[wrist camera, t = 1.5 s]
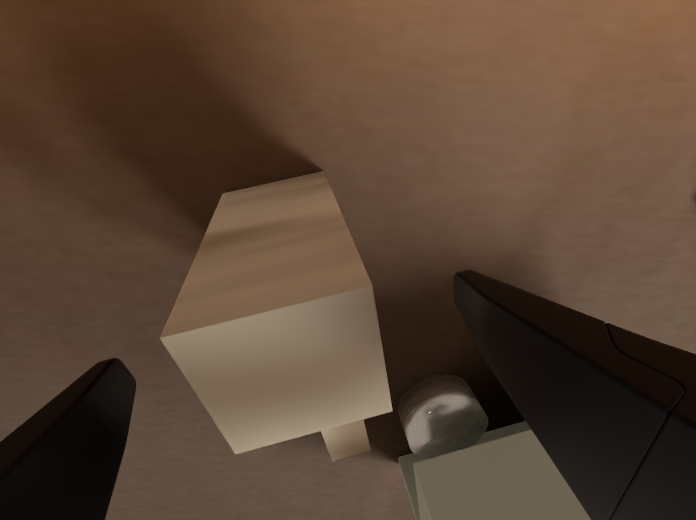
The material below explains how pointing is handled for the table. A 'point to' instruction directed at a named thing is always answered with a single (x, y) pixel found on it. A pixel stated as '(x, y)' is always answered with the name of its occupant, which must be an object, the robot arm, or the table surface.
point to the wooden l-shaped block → (281, 321)
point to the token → (441, 416)
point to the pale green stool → (491, 481)
